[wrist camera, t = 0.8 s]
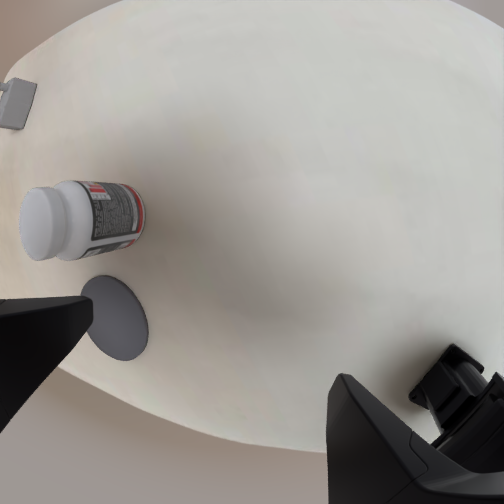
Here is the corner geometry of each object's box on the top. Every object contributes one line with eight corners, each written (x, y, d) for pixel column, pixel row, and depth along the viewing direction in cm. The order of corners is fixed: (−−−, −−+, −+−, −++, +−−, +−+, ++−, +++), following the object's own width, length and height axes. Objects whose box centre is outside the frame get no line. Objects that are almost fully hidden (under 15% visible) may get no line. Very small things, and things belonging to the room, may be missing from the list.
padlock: (28, 88, 24) (-18, 75, 14) (39, 83, 23) (-10, 68, 13) (15, 130, 25) (-34, 124, 15) (25, 128, 24) (-28, 120, 15)
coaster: (161, 312, 23) (157, 314, 22) (134, 373, 25) (131, 375, 24) (94, 258, 24) (90, 259, 23) (77, 322, 26) (74, 324, 25)
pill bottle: (115, 173, 22) (29, 164, 12) (158, 204, 21) (67, 204, 12) (93, 227, 23) (11, 238, 14) (131, 260, 23) (45, 286, 13)
